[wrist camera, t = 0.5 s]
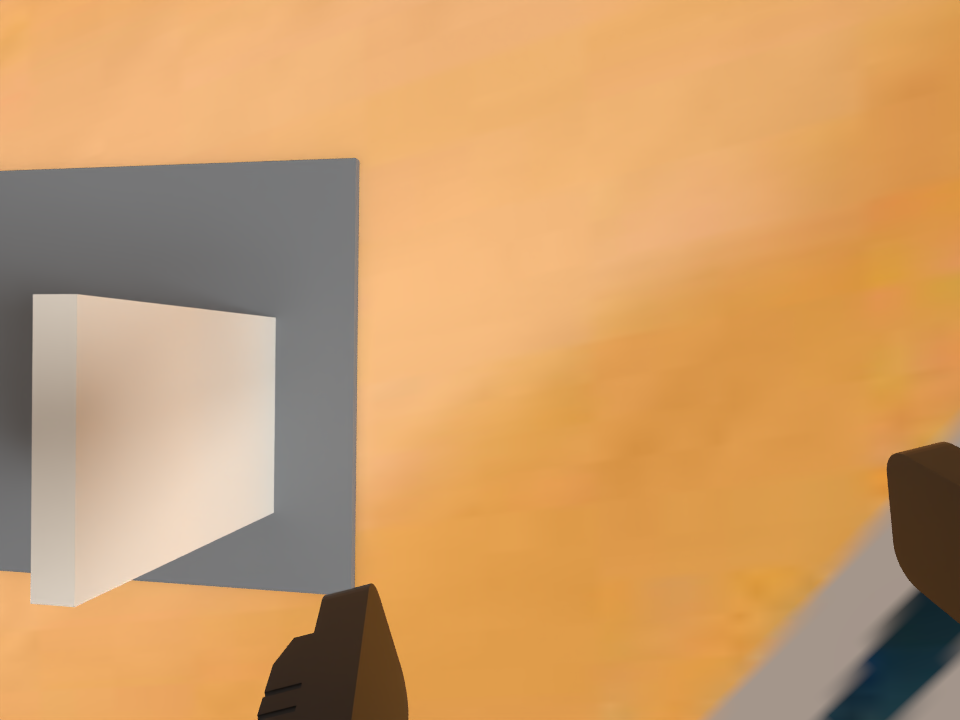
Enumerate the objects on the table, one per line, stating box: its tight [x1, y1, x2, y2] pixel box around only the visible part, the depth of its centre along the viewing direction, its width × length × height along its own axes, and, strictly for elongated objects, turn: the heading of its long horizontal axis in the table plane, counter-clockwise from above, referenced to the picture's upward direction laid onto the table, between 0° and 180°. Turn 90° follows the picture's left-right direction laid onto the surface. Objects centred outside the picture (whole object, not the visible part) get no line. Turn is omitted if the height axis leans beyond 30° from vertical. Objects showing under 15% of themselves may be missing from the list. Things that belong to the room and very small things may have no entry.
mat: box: [0, 158, 359, 594], centre depth 38 cm, size 22×22×1 cm
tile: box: [31, 294, 276, 607], centre depth 30 cm, size 10×2×14 cm, turn 179°
